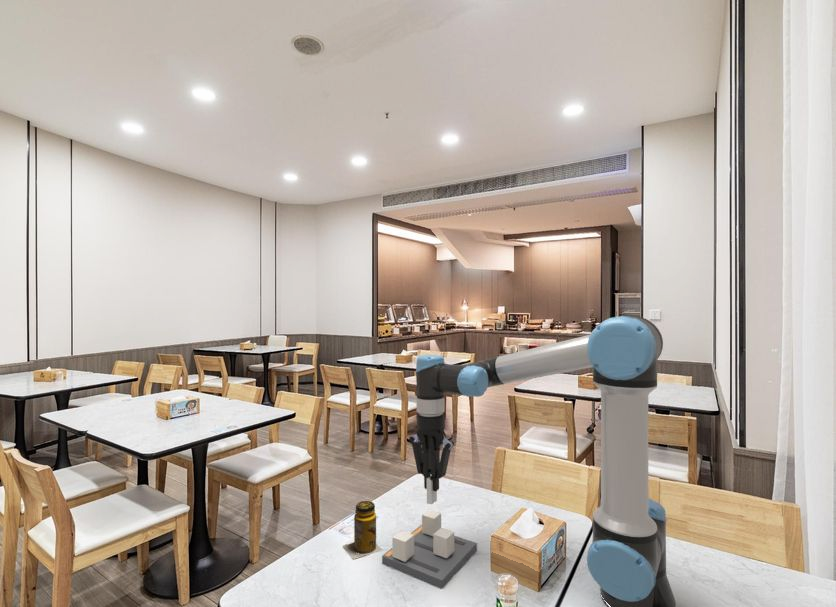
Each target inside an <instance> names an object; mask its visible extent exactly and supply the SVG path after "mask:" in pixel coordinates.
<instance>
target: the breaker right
mask: <svg viewBox="0 0 836 607" xmlns="http://www.w3.org/2000/svg"><path fill="white" fill-rule="evenodd" d="M421 525H422V533H425V534H428V535H431V536H433V534H434V533H435V532H437V531H438V530H439V529H440V528H442V513H441V512H440V511H437V510H433V509H430V508H429V509H427V510H426V511H425V512H424V513H423V514H422V515H421Z"/></svg>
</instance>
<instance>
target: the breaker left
mask: <svg viewBox="0 0 836 607" xmlns="http://www.w3.org/2000/svg"><path fill="white" fill-rule="evenodd" d="M410 533H411V532H407V531H404V530H400V531H399V532H397V533H396V534H395V535H394V536H392V537H391V538H392V544H391V545H392V546H391V547H392V557H394V558H397V559H399V560H402V561H404V562H406V561H407V560H408V559H409V558H410V557H411V556H412V555H414V535H413V534H410Z"/></svg>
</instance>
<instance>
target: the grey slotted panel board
mask: <svg viewBox="0 0 836 607" xmlns="http://www.w3.org/2000/svg"><path fill="white" fill-rule="evenodd" d="M409 533H410V534H413V535H414V555H412V556H411V557H410V558H409V559H408V560H407V561H406V562H404V561H402V560H399V559H397V558H394V557H392V548H389V550H387V551H386V552H385V553H384V554H383V555H381V564H382V565H384V566H387V567H390V568H392V569H394V570H396V571H398V572H401V573H403V574H406V575H408V576H411V577H413V578H415V579H417V580H420V581H423V582H424V583H427V584H429V585H431V586H434V587H436V588H439V589H442V590H443V588H444V587H445V586H446V585H447V584H448V583H449V582H450V580H452V578H453V577H454V576H455V575H456V574H457V573H458V572H459V570H460V569H462V568H463V567H464V566H465V564H466V563H467V562H468V561H469V560H470V559H471V557H473V555H474V554H476V552H477V551H478V543H477V542H476V541H472V540H469V539H466V538H463V537H460V536H457V535H455V534H454V552H453V553H452V554H451V555H450V556H449V557H448V558H444V557H441V556H439V555H436V554H433V536H431V535H428V534H425V533H422V524H420V525H419V526H418V527H417V528H415V530H413V531H412V532H409Z"/></svg>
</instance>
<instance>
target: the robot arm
mask: <svg viewBox="0 0 836 607" xmlns="http://www.w3.org/2000/svg"><path fill="white" fill-rule="evenodd" d="M663 340H664V338H663V335H662V333H661V331H660V329H659V328H658V327H657V326H656V325H655V323H653V322H652V321H651V320H648V319H646V318H644V317H642V316H636V315H621V316H613V317H609V318H607V319H605V320H603V321H602V322H601V323H599V324H598V325H596V327H594V329H593V330H592V331H591V333H590V334H587V335H583V336H578V337H575V338H570V339H567V340H563V341H558V342H554V343H550V344H545V345H541V346H537V347H533V348H529V349H525V350H522V351H517V352H512V353H508V354H504V355H499V356H497V357H491V358H486V359H483V360H479V361H474V362H470V363H465V364H448V363H446V362H445V358H444V356H443V355H441V354H440V355H439V354H424V355H419V356H418V357H417V358H416V364H415V365H416V367H415V369H416V370H415V380H416V381H415V382H416V383H415V384H416V413H417V414H416V427H417V430H416V434H414V435H412V436H409V437H408V439H409V442H410V444H411V445H412V446H411V447H412V451H413V456H414V461H415V465H416V470H417V474H419V475H420V474H421V475H422V476H423V486H424V489H425V490H426V504H428V505H434V503H435V502H437V501H438V495H437V494H438V492H437V491H439V489H440V479H442V478H443V477H445V476H446V474H447V470H448V465H449V460H450V454H451V450H452V449H453V447H455V446H454V445H455V443H454V441H450V440H449V439H448V438H447V435H446V432H445V428H446V414H444V413H445V412H446V411H445V410H446V409H445V394H448V395H449V394H452V395H457V396H463V397H464V396H465V397H466V398H467V397H468V398H470V397H471V398H472V397H483V395H485V392H486V391H487V389H488V388H491V387H496V386H501V385H505V384H510V383H516V382H517V383H518V382H521V381H527V380H532V379H537V378H542V377H543V378H544V377H548V376H552V375H553V376H554V375H559V374H563V373H569V372H574V371H579V370H585V369H590V368H592V382H593V384H594V385H595V386H596V387H597V388H598V389H599V391H600V506H598V507H597V508H596V509H594V510H593V513H592V543H591V544H590V546H588V548H587V549H588V551H587V557H586V563H587V564H586V565H587V568H588V571H589V573H590V575H591V577H592V579H593V580H594V581H595V582H596V583H597V585H598V586H599V587H600V588H599V589H600V591H601V593H600V596H601V595H602V597H603V598H604V600H605V601H606V602H607V603H608V604H609V605H610V606H611V607H677V606H676V603H677V602H676V598H675V596H674V593H673V591H672V587H671V585H670V584H671V583H670V581H669V579H668V576H667V528H666V527H667V526H666V524H667V523H666V522H668V520H667V516H666V509H665V507H664V506H663V505H662V504H661V503H660V502H657V501H656V500H654V499H652V498H649V395H650V394H651V393H652V392H653V391H654V390H656V389H657V388H658V359H659V358H660V357H661V354H662V351H663V349H664V348H663V347H664V341H663ZM441 446H442V452H441ZM440 452H441V455H440ZM602 597H601V598H602Z"/></svg>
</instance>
